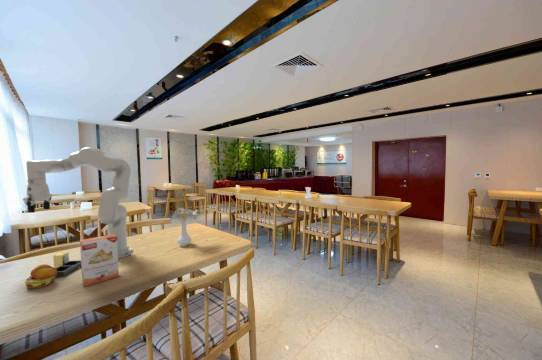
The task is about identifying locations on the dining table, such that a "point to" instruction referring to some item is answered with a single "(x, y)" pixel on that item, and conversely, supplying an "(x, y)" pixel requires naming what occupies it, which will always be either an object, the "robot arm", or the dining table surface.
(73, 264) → the tray
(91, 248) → the cracker box
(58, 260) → the gold block
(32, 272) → the cheeseburger
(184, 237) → the flower vase
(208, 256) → the dining table surface
